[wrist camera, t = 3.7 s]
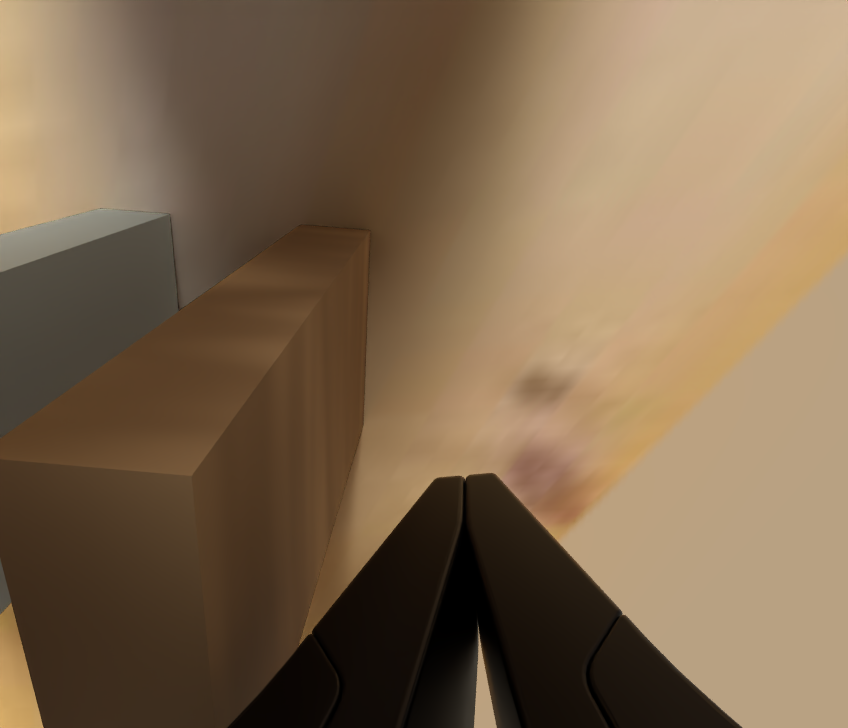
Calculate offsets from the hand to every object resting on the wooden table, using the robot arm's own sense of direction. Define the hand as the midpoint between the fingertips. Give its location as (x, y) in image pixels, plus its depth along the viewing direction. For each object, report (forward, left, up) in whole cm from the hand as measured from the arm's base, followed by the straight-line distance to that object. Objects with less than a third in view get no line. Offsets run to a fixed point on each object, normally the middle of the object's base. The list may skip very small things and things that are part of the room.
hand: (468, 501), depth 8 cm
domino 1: (+3, -2, -6) cm, 7 cm away
